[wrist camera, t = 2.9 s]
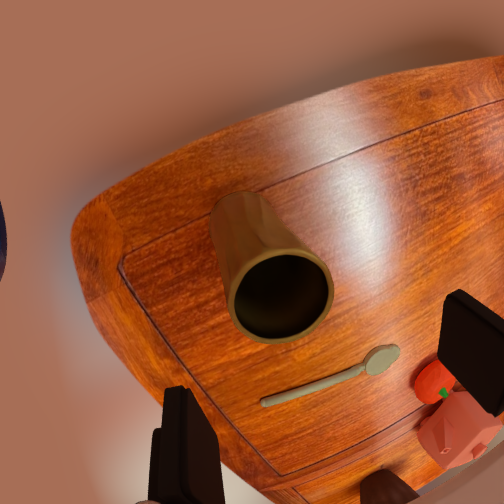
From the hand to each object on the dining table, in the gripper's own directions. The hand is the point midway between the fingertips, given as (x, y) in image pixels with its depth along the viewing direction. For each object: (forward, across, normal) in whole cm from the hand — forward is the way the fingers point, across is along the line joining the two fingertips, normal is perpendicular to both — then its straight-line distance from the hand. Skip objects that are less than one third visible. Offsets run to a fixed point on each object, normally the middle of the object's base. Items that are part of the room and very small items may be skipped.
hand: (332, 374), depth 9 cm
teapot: (+20, -28, +46) cm, 58 cm away
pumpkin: (+20, -21, +30) cm, 42 cm away
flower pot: (+20, -13, +64) cm, 68 cm away
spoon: (+20, -5, +22) cm, 30 cm away
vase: (+20, +1, 0) cm, 20 cm away
